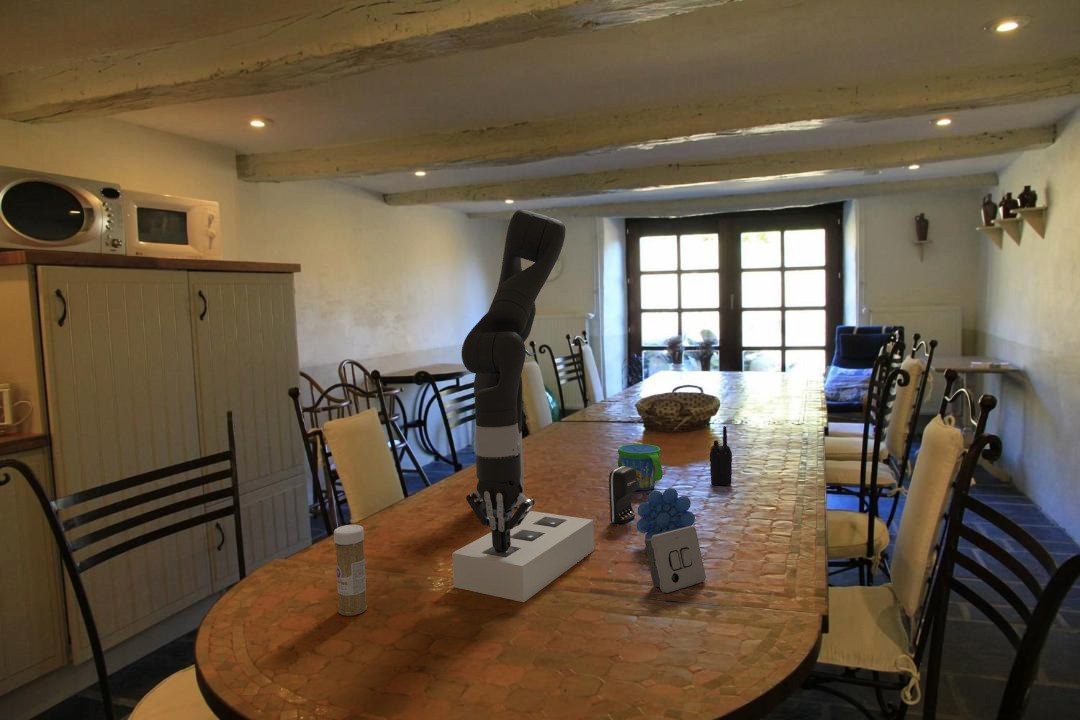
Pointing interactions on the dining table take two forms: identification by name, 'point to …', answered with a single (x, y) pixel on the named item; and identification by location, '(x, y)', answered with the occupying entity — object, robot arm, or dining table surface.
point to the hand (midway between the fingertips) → (501, 550)
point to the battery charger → (622, 493)
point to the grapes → (664, 513)
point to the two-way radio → (721, 462)
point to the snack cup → (642, 463)
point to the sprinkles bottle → (350, 569)
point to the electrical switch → (675, 559)
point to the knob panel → (524, 558)
